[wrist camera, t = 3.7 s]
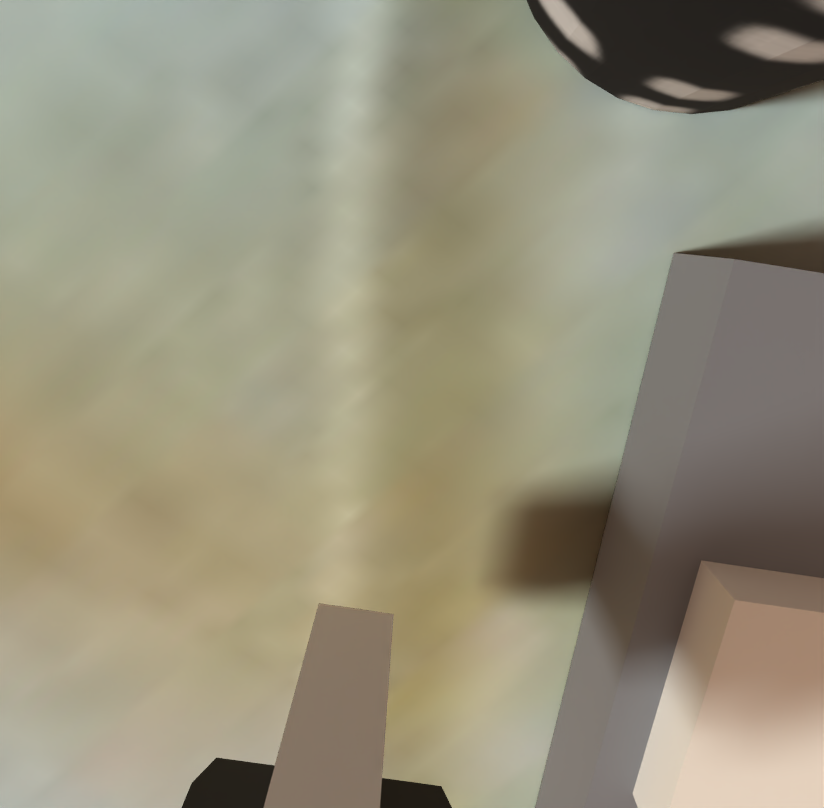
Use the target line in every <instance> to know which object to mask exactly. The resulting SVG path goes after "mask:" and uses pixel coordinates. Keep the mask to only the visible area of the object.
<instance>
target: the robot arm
mask: <svg viewBox="0 0 824 808" xmlns="http://www.w3.org/2000/svg"><path fill="white" fill-rule="evenodd" d="M392 628H393V614H389V613H382V612H375V611H369V610H362V609H355V608H348V607H341V606H334V605H327V604H320V603H319V605H318V609H317V612H316V616H315V620H314V623H313V627H312V631H311V634H310V638H309V642H308V645H307V649H306V653H305V657H304V660H303V664H302V668H301V671H300V675H299V679H298V682H297V686H296V690H295V693H294V697H293V701H292V704H291V708H290V712H289V716H288V719H287V723H286V727H285V730H284V734H283V738H282V741H281V745H280V749H279V752H278V756H277V760H276V763H275V766H273V765H266V764H259V763H251V762H244V761H237V760H229V759H222V758H216V759H215V760H214V761H213V762H212V763H211V764H210V765H209V766H208V767H207V768H206V769H205V770H204V771H203V772H202V773H201V774H200V775H199V776H198V777H197V778H196V779H195V780H194V781H193V782H192V784H191V786H190V789H189V791H188V794H187V796H186V799H185V801H184V803H183V806H182V808H452V807H451V805H450V803H449V801H448V799H447V797H446V795H445V793H444V791H443V789H442V787H441V786H435V785H428V784H421V783H414V782H406V781H399V780H392V779H384V778H382V770H383V756H384V742H385V728H386V713H387V699H388V685H389V671H390V656H391V642H392Z"/></svg>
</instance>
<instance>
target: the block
mask: <svg viewBox="0 0 824 808" xmlns="http://www.w3.org/2000/svg"><path fill="white" fill-rule="evenodd" d="M633 796H634V799H635V802H636V804H637V807H638V808H824V578H818V577H811V576H804V575H798V574H791V573H784V572H777V571H770V570H763V569H757V568H750V567H743V566H736V565H729V564H722V563H716V562H709V561H702V560H701V563H700V567H699V570H698V574H697V577H696V580H695V584H694V587H693V591H692V594H691V597H690V601H689V604H688V607H687V611H686V614H685V618H684V621H683V624H682V628H681V631H680V635H679V638H678V641H677V645H676V648H675V651H674V655H673V658H672V662H671V665H670V668H669V672H668V675H667V679H666V682H665V685H664V689H663V692H662V695H661V699H660V702H659V706H658V709H657V712H656V716H655V719H654V723H653V726H652V729H651V733H650V736H649V739H648V743H647V746H646V750H645V753H644V756H643V760H642V763H641V767H640V770H639V773H638V777H637V780H636V783H635V787H634V790H633Z"/></svg>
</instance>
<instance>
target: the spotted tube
mask: <svg viewBox="0 0 824 808" xmlns="http://www.w3.org/2000/svg"><path fill="white" fill-rule="evenodd" d="M527 2H528V4H529V7H530V9H531V11H532V14H533V16H534V18H535V20H536V21H537V22H538V24H539V25H540V27H541V28H542V30H543V31H544V33H545V34H546V36H547V37H548V39H549V40H550V41H551V43H552V44H553V46H554V47H555V49H556V50H557V52H559V53H560V54H561V55H562V56H563V57H564V58H565V59H566V60H567V61H568V62H569V63H570V64H571V65H572V66H573V67H574V68H575V69H576V70H577V71H578V72H579V73H580V74H582V75H583V76H584V77H585V78H586V79H588V80H589V81H591V82H592V83H594V84H596V85H597V86H599V87H601V88H602V89H604V90H606V91H607V92H609V93H611V94H612V95H614V96H615V97H617V98H620V99H623V100H626V101H629V102H631V103H634V104H637V105H640V106H643V107H646V108H649V109H652V110H659V111H668V112H678V113H687V114H695V113H704V112H714V111H723V110H731V109H734V108H737V107H740V106H744V105H747V104H750V103H753V102H756V101H759V100H763V99H766V98H769V97H772V96H775V95H778V94H781V93H784V92H787V91H791V90H794V89H797V88H800V87H803V86H806V85H809V84H812V83H815V82H818V81H821V80H824V0H527Z"/></svg>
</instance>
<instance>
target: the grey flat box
mask: <svg viewBox="0 0 824 808" xmlns="http://www.w3.org/2000/svg"><path fill="white" fill-rule="evenodd" d="M701 560H702V561H709V562H716V563H722V564H729V565H736V566H743V567H750V568H757V569H763V570H770V571H777V572H784V573H791V574H798V575H804V576H811V577H818V578H824V273H819V272H813V271H806V270H800V269H794V268H788V267H781V266H775V265H769V264H762V263H756V262H750V261H744V260H737V259H729V258H719V257H709V256H698V255H688V254H678V253H674V254H673V258H672V262H671V266H670V270H669V274H668V278H667V282H666V286H665V290H664V294H663V298H662V302H661V306H660V310H659V314H658V318H657V322H656V326H655V330H654V334H653V338H652V342H651V346H650V350H649V354H648V358H647V362H646V366H645V370H644V374H643V378H642V382H641V386H640V390H639V394H638V398H637V402H636V406H635V410H634V414H633V418H632V422H631V426H630V430H629V434H628V438H627V442H626V446H625V450H624V454H623V458H622V462H621V466H620V470H619V474H618V478H617V482H616V486H615V490H614V494H613V498H612V502H611V506H610V510H609V514H608V518H607V522H606V526H605V530H604V534H603V538H602V542H601V546H600V550H599V554H598V558H597V562H596V566H595V570H594V574H593V578H592V582H591V586H590V590H589V594H588V598H587V602H586V606H585V610H584V614H583V618H582V622H581V626H580V630H579V634H578V638H577V642H576V646H575V650H574V654H573V658H572V662H571V666H570V670H569V674H568V678H567V682H566V686H565V690H564V694H563V698H562V702H561V706H560V710H559V714H558V718H557V722H556V726H555V730H554V734H553V738H552V742H551V746H550V750H549V754H548V758H547V762H546V766H545V770H544V774H543V778H542V782H541V786H540V790H539V794H538V798H537V802H536V806H535V808H638V807H637V804H636V802H635V799H634V796H633V790H634V787H635V783H636V780H637V777H638V773H639V770H640V767H641V763H642V760H643V756H644V753H645V750H646V746H647V743H648V739H649V736H650V733H651V729H652V726H653V723H654V719H655V716H656V712H657V709H658V706H659V702H660V699H661V695H662V692H663V689H664V685H665V682H666V679H667V675H668V672H669V668H670V665H671V662H672V658H673V655H674V651H675V648H676V645H677V641H678V638H679V635H680V631H681V628H682V624H683V621H684V618H685V614H686V611H687V607H688V604H689V601H690V597H691V594H692V591H693V587H694V584H695V580H696V577H697V574H698V570H699V567H700V563H701Z"/></svg>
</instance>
